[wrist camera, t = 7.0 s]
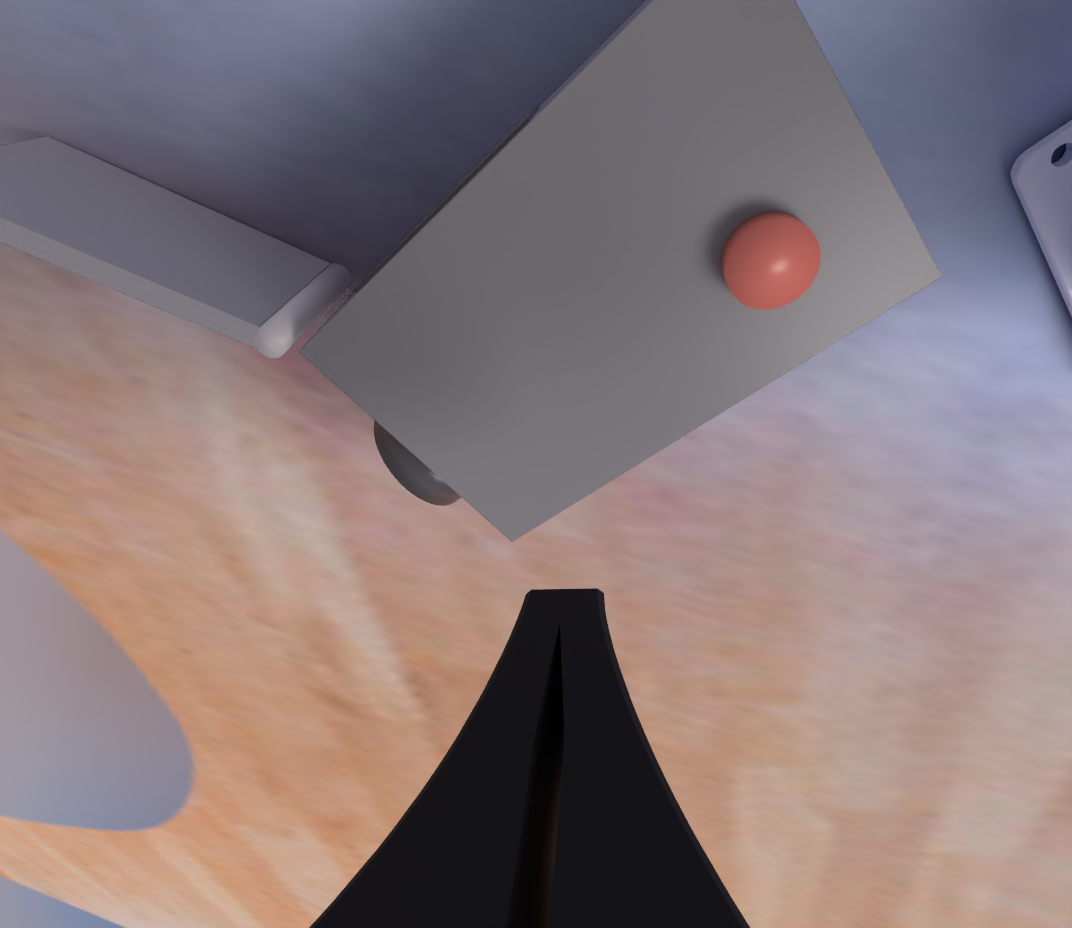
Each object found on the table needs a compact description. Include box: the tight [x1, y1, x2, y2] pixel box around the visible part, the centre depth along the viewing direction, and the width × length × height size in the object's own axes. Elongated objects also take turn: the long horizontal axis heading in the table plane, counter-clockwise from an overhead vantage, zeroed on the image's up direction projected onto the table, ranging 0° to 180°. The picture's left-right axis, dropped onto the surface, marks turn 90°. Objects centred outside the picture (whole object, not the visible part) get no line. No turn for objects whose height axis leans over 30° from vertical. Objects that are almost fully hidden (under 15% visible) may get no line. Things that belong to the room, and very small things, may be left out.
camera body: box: [299, 0, 942, 542], centre depth 16 cm, size 14×8×6 cm, turn 131°
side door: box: [0, 136, 351, 358], centre depth 16 cm, size 9×1×5 cm, turn 66°
